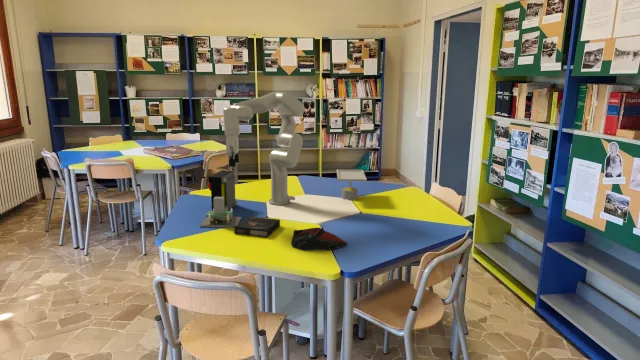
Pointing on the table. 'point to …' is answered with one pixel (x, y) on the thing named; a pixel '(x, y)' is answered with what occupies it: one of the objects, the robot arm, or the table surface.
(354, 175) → the solar panel model
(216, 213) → the board
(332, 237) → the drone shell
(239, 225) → the portable cd player
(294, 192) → the table surface
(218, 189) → the electrical component
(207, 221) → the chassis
